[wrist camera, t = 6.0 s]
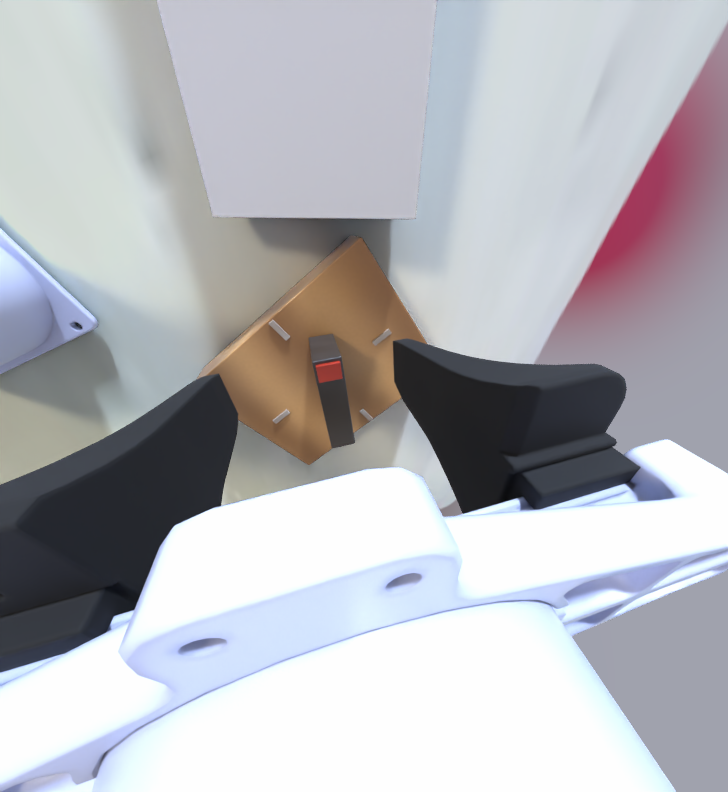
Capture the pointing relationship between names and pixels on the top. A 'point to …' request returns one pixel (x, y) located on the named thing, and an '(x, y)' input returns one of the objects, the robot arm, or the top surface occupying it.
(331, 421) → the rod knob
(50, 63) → the top surface
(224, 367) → the panel
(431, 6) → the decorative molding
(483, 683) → the robot arm
